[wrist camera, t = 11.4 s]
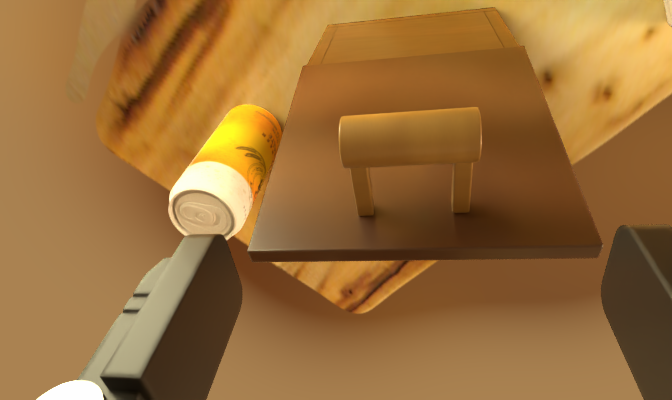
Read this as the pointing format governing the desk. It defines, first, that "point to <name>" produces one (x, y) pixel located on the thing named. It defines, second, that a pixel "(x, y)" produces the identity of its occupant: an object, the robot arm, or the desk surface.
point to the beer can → (226, 174)
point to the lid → (422, 166)
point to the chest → (413, 36)
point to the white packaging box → (668, 11)
